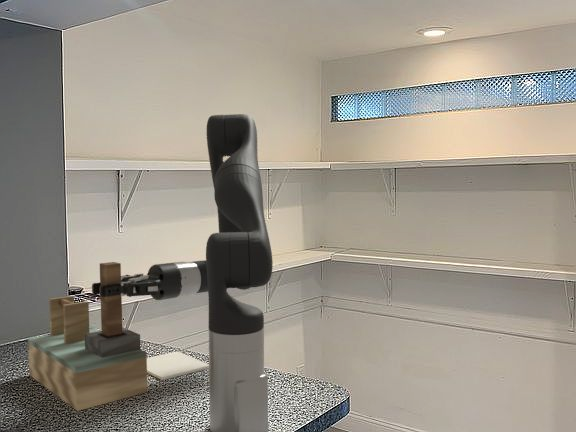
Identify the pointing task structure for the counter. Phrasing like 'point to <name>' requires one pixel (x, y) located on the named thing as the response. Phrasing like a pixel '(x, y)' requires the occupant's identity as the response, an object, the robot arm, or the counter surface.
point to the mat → (173, 365)
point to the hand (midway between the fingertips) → (96, 290)
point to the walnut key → (111, 300)
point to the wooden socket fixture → (86, 358)
